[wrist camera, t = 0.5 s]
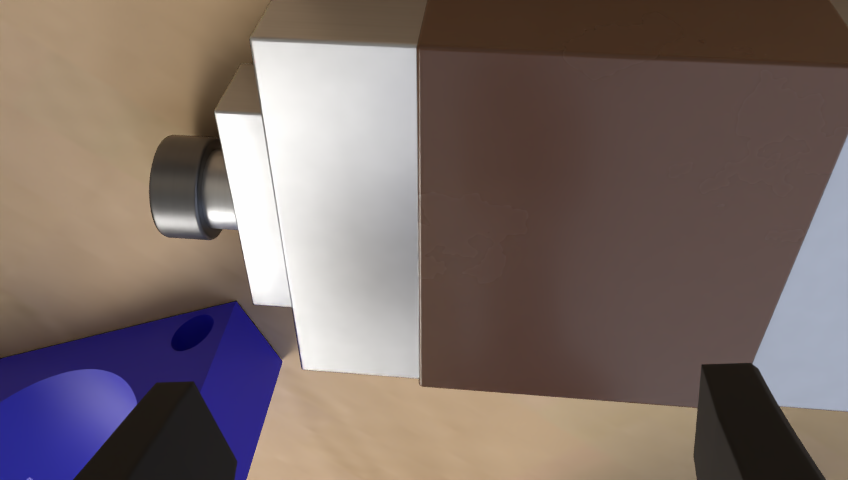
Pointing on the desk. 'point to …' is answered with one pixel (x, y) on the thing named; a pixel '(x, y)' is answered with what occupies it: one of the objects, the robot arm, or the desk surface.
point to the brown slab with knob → (539, 191)
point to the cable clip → (132, 388)
